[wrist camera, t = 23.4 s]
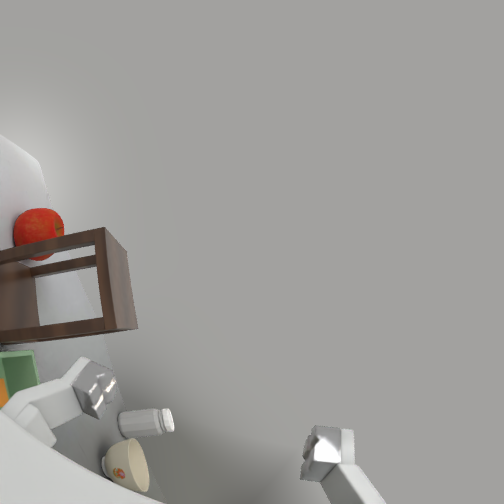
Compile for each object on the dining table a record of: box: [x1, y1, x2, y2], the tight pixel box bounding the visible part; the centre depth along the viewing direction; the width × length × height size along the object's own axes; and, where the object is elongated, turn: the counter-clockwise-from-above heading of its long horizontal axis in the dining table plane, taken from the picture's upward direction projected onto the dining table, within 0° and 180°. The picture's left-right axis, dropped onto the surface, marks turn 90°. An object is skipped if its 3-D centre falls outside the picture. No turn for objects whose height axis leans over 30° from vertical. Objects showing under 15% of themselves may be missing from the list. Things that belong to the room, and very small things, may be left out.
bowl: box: [102, 438, 149, 492], centre depth 60 cm, size 16×16×10 cm
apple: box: [14, 208, 64, 261], centre depth 51 cm, size 11×11×11 cm
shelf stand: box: [0, 227, 138, 345], centre depth 35 cm, size 12×12×26 cm
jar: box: [118, 408, 174, 438], centre depth 87 cm, size 10×10×18 cm
